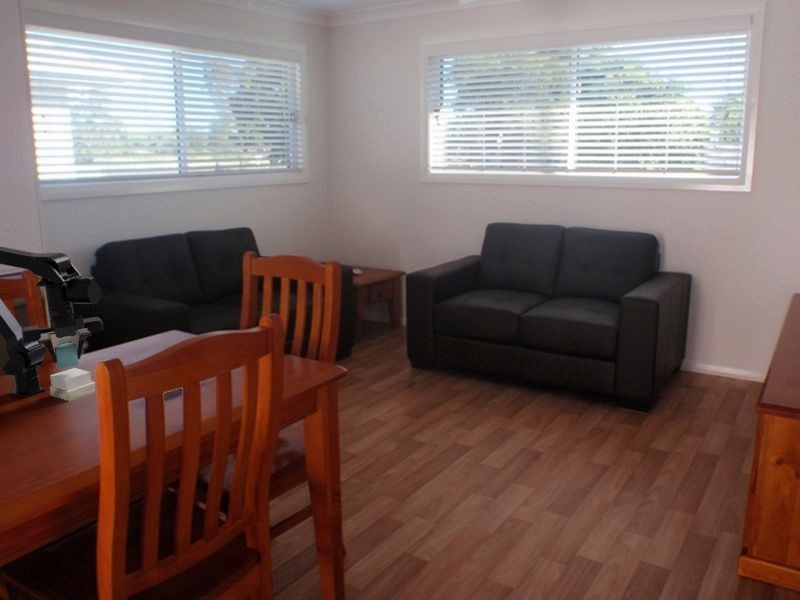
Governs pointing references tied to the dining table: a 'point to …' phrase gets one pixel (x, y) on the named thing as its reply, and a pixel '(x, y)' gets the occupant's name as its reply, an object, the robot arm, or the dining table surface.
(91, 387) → the base slab
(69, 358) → the light teal cube
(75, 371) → the top block
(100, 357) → the dining table surface
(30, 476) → the dining table surface
